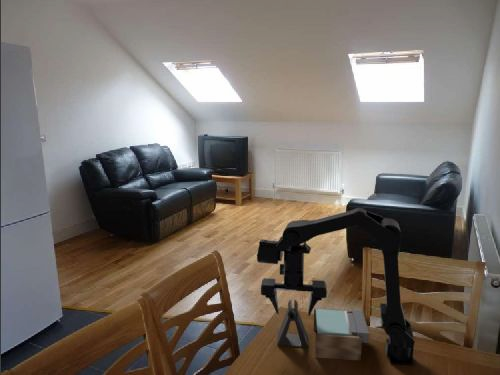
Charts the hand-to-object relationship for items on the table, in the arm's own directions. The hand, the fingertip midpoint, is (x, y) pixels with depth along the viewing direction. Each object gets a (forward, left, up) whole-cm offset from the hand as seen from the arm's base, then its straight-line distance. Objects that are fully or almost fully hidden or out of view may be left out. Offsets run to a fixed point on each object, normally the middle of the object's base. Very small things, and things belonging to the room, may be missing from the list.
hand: (293, 314), depth 115 cm
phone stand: (0, 0, -9) cm, 9 cm away
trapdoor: (-14, 0, -4) cm, 14 cm away
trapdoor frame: (-13, 0, -9) cm, 15 cm away
